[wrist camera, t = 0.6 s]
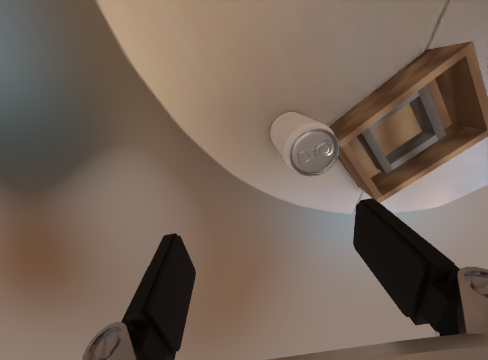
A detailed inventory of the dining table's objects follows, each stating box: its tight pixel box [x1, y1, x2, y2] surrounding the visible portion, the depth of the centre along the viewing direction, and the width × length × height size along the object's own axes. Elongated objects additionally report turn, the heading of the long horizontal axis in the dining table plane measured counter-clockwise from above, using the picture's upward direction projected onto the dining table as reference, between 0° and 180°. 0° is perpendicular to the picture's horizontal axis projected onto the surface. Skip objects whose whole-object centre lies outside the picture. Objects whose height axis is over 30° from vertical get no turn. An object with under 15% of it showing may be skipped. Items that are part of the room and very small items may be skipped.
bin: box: [329, 41, 488, 203], centre depth 30 cm, size 18×14×6 cm
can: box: [270, 112, 339, 176], centre depth 27 cm, size 6×6×12 cm
